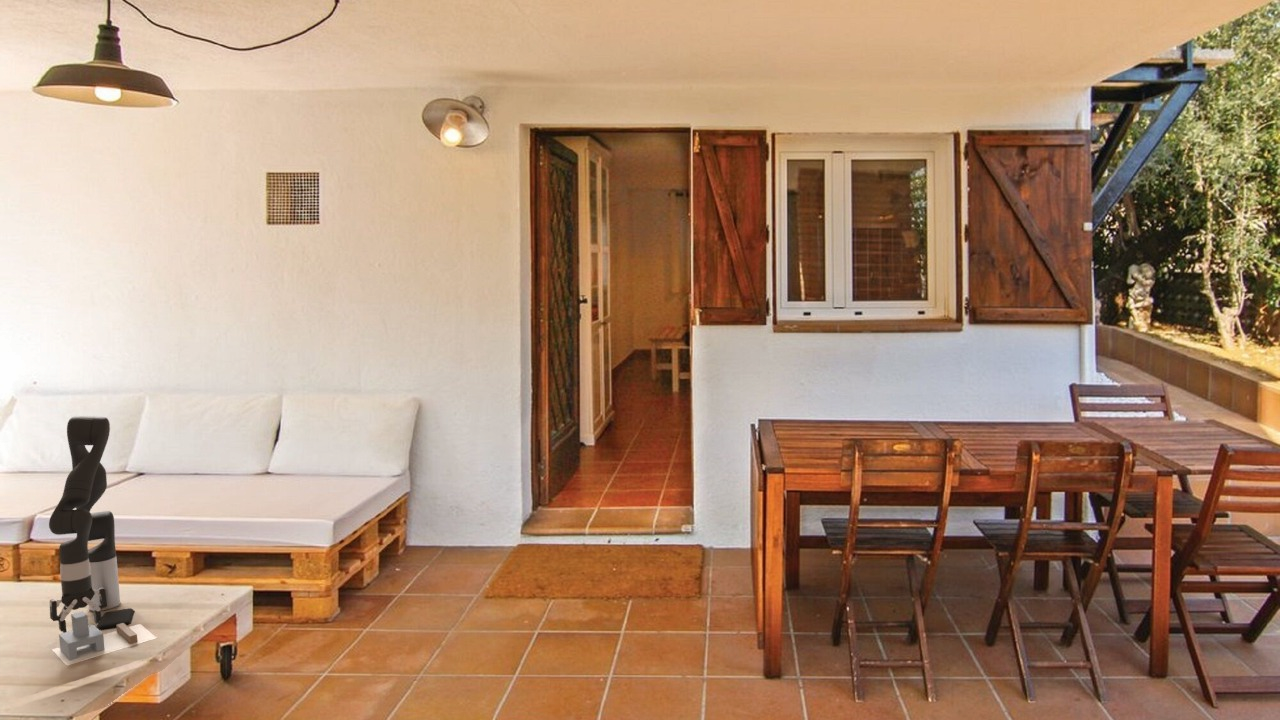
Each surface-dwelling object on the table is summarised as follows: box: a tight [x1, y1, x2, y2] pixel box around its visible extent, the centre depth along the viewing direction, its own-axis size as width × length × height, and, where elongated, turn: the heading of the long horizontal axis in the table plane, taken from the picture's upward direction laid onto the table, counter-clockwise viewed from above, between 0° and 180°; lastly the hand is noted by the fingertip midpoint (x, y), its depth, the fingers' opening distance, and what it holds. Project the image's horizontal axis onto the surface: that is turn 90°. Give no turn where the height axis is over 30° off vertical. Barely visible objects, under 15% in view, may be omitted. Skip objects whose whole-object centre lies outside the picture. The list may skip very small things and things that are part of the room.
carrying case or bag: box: [96, 608, 136, 631], centre depth 275 cm, size 11×3×15 cm
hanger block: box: [58, 610, 105, 660], centre depth 252 cm, size 10×9×11 cm
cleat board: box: [51, 623, 157, 666], centre depth 257 cm, size 16×24×4 cm, turn 138°
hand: (80, 627), depth 252 cm, fingers open, 8 cm apart
